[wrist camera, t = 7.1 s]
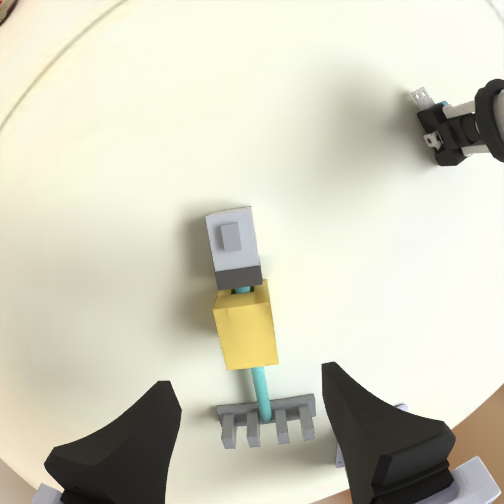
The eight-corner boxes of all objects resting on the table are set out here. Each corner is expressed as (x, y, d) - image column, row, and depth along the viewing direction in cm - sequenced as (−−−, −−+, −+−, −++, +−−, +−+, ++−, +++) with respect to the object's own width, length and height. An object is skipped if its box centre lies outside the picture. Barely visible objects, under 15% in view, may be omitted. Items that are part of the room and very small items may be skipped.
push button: (390, 103, 17) (471, 63, 8) (430, 83, 17) (507, 48, 7) (429, 177, 19) (522, 182, 9) (465, 151, 18) (550, 147, 8)
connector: (258, 255, 20) (260, 268, 17) (220, 261, 20) (214, 274, 17) (251, 206, 19) (251, 210, 16) (211, 212, 19) (203, 217, 16)
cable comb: (314, 410, 24) (321, 440, 20) (222, 421, 24) (218, 451, 20) (313, 393, 23) (321, 423, 19) (216, 405, 23) (212, 436, 20)
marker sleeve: (274, 333, 21) (278, 363, 17) (231, 338, 21) (227, 370, 17) (266, 279, 20) (270, 302, 16) (220, 285, 20) (212, 309, 16)
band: (261, 271, 20) (262, 284, 18) (222, 276, 21) (218, 290, 18) (258, 255, 20) (259, 266, 17) (220, 261, 20) (215, 272, 18)
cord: (272, 414, 23) (272, 422, 22) (261, 416, 23) (261, 423, 22) (242, 242, 19) (242, 245, 18) (227, 244, 19) (226, 247, 18)
